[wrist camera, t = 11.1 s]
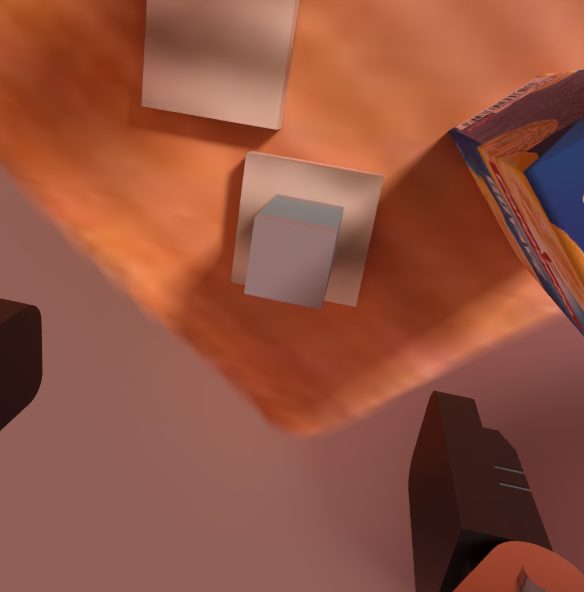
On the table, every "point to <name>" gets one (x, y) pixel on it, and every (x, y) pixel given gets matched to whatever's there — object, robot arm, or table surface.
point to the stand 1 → (219, 58)
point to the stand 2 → (321, 188)
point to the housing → (293, 250)
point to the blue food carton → (536, 179)
